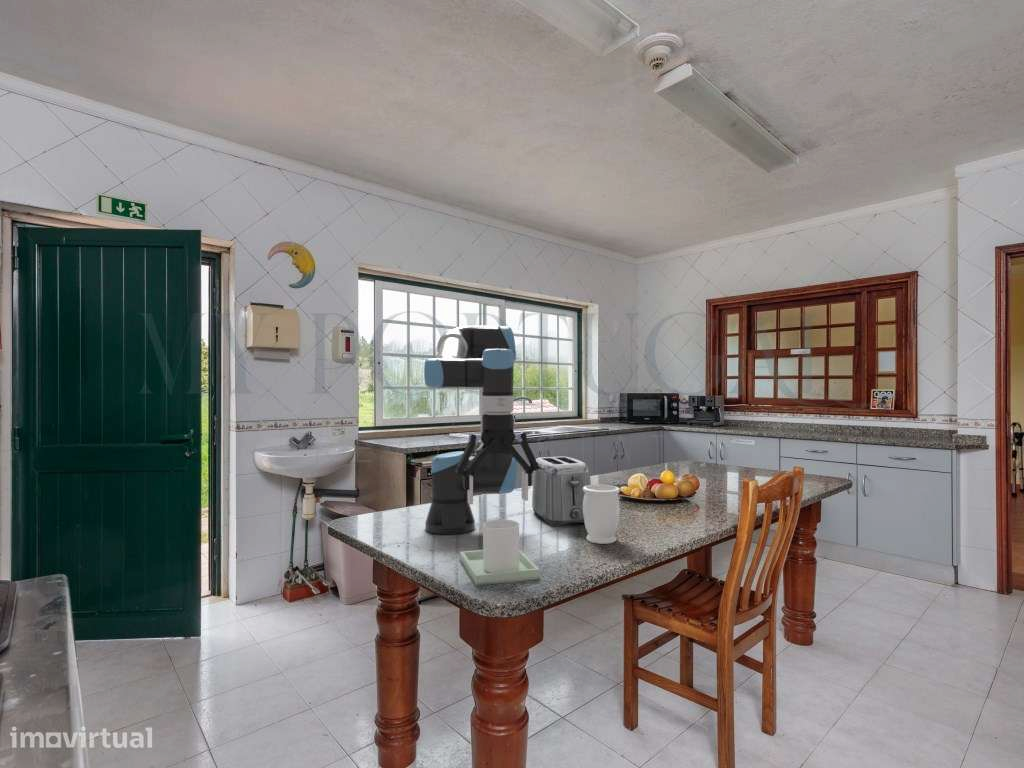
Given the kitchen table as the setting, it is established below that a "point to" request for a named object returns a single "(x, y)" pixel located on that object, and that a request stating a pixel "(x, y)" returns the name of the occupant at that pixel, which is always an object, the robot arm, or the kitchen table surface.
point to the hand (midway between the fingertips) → (497, 501)
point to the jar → (601, 512)
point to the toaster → (560, 489)
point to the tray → (482, 577)
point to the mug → (500, 546)
